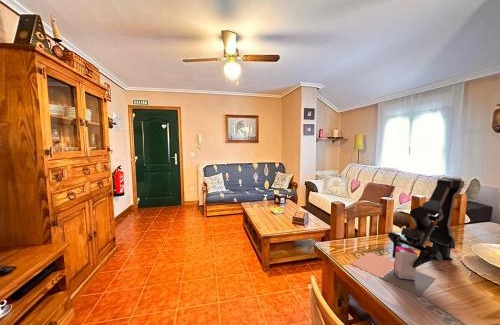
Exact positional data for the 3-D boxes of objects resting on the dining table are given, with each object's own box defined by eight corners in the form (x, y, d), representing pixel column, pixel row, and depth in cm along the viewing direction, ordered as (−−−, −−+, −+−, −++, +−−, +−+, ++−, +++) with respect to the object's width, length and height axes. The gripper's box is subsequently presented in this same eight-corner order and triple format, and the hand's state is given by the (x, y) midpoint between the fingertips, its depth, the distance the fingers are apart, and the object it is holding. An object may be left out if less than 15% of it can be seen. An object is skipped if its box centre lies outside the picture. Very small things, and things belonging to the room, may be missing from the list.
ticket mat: (435, 278, 89) (435, 278, 89) (419, 296, 79) (419, 295, 79) (370, 252, 110) (370, 251, 110) (350, 263, 100) (350, 263, 100)
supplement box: (415, 281, 87) (417, 254, 86) (399, 279, 88) (401, 252, 87) (408, 273, 93) (410, 247, 92) (392, 271, 94) (394, 245, 93)
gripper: (391, 214, 98) (373, 241, 95) (441, 229, 81) (420, 264, 78) (401, 228, 102) (384, 255, 99) (450, 245, 85) (431, 279, 82)
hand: (402, 262), depth 89 cm, fingers closed on supplement box, 8 cm apart
